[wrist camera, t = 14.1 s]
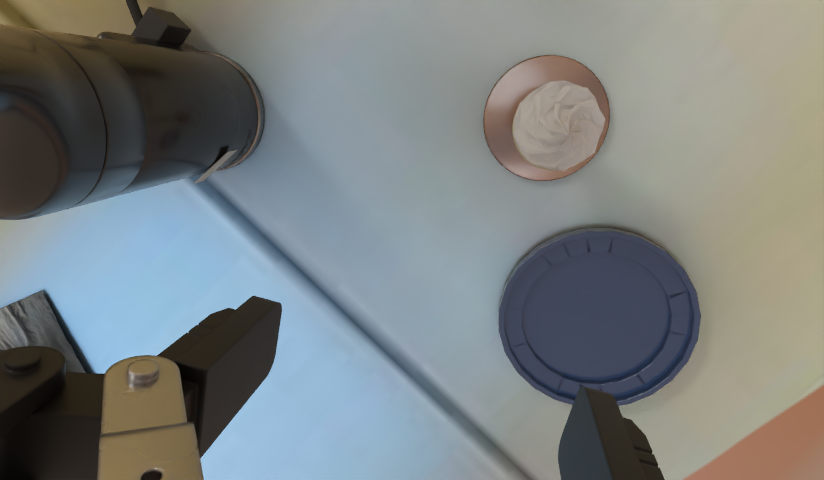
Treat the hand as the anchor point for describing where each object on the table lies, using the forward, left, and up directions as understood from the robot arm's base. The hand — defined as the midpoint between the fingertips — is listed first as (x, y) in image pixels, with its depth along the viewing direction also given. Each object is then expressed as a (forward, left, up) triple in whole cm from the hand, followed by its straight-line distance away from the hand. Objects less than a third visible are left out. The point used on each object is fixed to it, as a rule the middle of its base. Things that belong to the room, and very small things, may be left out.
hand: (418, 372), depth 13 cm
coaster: (0, +7, -28) cm, 29 cm away
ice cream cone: (0, +7, -28) cm, 29 cm away
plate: (+14, -1, -28) cm, 32 cm away
